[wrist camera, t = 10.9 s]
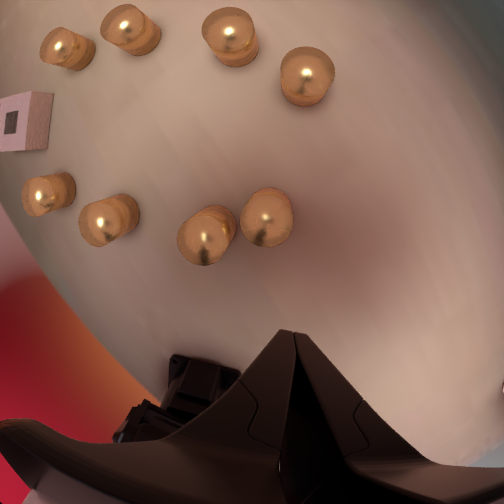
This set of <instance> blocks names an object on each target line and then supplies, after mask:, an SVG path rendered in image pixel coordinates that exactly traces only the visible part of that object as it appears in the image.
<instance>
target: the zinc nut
mask: <svg viewBox="0 0 504 504" xmlns="http://www.w3.org/2000/svg"><path fill="white" fill-rule="evenodd" d="M53 96H54V94H51V93H44V92H37V91H29V92H25V93H20V94H16V95H12V96H9V97H5V98H1V99H0V152H2V151H19V150H33V149H45V148H47V147H48V135H49V125H50V117H51V110H52V103H53Z"/></svg>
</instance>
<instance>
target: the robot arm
mask: <svg viewBox="0 0 504 504" xmlns="http://www.w3.org/2000/svg"><path fill="white" fill-rule="evenodd" d="M174 359H175V360H177V361H175V360H174ZM234 375H237V376H234ZM112 440H113V443H105V444H104V443H103V444H102V443H101V444H99V443H88V442H82V441H78V440H75V439H72V438H69V437H67V436H65V435H62V434H60V433H58V432H57V431H55V430H53V429H52V428H50V427H48V426H46V425H44V424H42V423H41V422H38V421H36V420H33V419H28V418H23V419H16V418H15V419H6V420H2V421H0V452H1V454H2V455H3V456H4V458H5V459H6V460H7V462H8V463H9V464H10V466H11V467H12V468H13V469H14V471H15V472H16V473H17V474H18V475H19V477H20V478H21V479H22V480H23V481H24V482H25V483H26V485H27V486H28V487H29V488H30V489H31V491H30V492H29V494H28V496H27V497H26V499H25V500H24V502H23V504H504V468H485V467H484V468H482V467H463V466H450V465H442V464H438V463H435V462H433V461H431V460H429V459H427V458H426V457H424V456H423V455H422V454H421V453H419V452H418V451H417V450H416V449H415V448H414V447H413V446H411V445H410V444H409V443H408V442H407V441H406V440H405V439H404V438H402V437H401V436H400V435H399V434H398V433H397V432H396V431H395V430H393V429H392V428H391V427H390V426H389V425H388V424H387V423H386V422H385V421H384V420H383V419H382V418H381V417H380V416H379V415H378V414H377V413H376V412H375V411H374V410H373V409H372V408H371V406H370V405H369V404H368V403H367V402H366V401H365V400H363V398H362V396H361V395H360V394H359V393H358V392H357V391H356V390H355V389H354V387H353V386H352V385H351V384H350V383H349V382H348V381H347V380H346V378H345V377H344V376H343V375H342V374H341V373H340V372H339V371H338V369H337V368H336V367H335V366H334V365H333V364H332V363H331V361H330V360H329V359H328V358H327V357H326V356H325V355H324V353H323V352H322V351H321V350H320V349H319V348H318V347H317V345H316V344H315V343H314V342H313V341H312V340H311V339H310V337H309V336H308V335H307V334H303V333H298V332H294V333H293V332H292V331H288V330H283V329H280V330H279V331H278V332H277V333H276V334H275V336H274V337H273V338H272V339H271V341H270V342H269V343H268V344H267V345H266V347H265V348H264V349H263V350H262V352H261V353H260V354H259V355H258V356H257V357H256V359H255V360H254V361H253V362H252V363H251V365H250V366H249V367H248V368H247V369H246V370H245V372H244V373H243V374H242V375H241V373H240V372H239V371H237V370H233V369H229V368H225V367H221V366H216V365H212V364H208V363H204V362H201V361H197V360H193V359H189V358H186V357H182V356H178V355H172V356H171V358H170V362H169V383H168V391H167V393H166V395H165V397H164V399H163V402H162V404H161V406H160V407H158V406H156V405H154V404H152V403H150V401H148V400H146V399H144V400H143V402H142V404H141V405H140V404H138V406H137V407H132V409H131V410H130V412H129V414H128V416H127V418H126V419H125V421H124V422H123V424H121V426H120V427H119V428H118V429H117V431H116V432H115V433H114V435H113V437H112ZM279 463H280V471H279ZM0 504H2V503H1V502H0Z"/></svg>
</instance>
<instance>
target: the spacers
mask: <svg viewBox="0 0 504 504" xmlns="http://www.w3.org/2000/svg"><path fill="white" fill-rule="evenodd" d="M100 33H101V36H102V37H103V38H104V39H105V40H107V41H109V42H111V43H112V44H114V45H116V46H118V47H120V48H122V49H123V50H125V51H127V52H129V53H130V54H132V55H135V56H141V55H145V54H147V53H149V52H151V51H152V50H153V49H154V48H155V47H156V46H157V45H158V43H159V41H160V39H161V30H160V28H159V27H158V26H157V25H156V24H155V23H154V22H153V21H152V20H150V19H149V18H148V17H147V16H146V15H145V14H144V13H143V12H141V11H140V10H139V9H138V8H137V7H136V6H134V5H132V4H124V5H120V6H118V7H116V8H114V9H113V10H111V11H110V12H109V13H108V14H107V15H106V17H105V18H104V20H103V21H102V24H101V28H100ZM202 35H203V38H204V39H205V41H206V42H207V43H208V45H209V46H210V48H211V49H212V50H213V52H214V53H215V55H216V56H217V57H218V59H219V60H220V61H221V62H222V63H224V64H225V65H228V66H232V67H240V66H244V65H246V64H248V63H250V62H251V61H252V60H253V59H254V58H255V57H256V55H257V53H258V49H259V46H258V41H257V37H256V33H255V29H254V25H253V21H252V18H251V17H250V15H249V14H248V13H247V12H245V11H244V10H242V9H239V8H235V7H225V8H221V9H218V10H216V11H214V12H212V13H211V14H210V15H209V16H208V17H207V18H206V19H205V20H204V22H203V25H202ZM94 54H95V44H94V42H93V41H92V40H90V39H88V38H86V37H83V36H81V35H79V34H77V33H75V32H72V31H70V30H68V29H65V28H63V27H58V28H56V29H54V30H52V31H51V32H50V33H49V34H48V35H47V36H46V38H45V39H44V41H43V43H42V45H41V48H40V59H41V60H42V61H43V62H46V63H50V64H53V65H57V66H61V67H64V68H68V69H71V70H75V71H78V70H81V69H83V68H85V67H86V66H87V65H88V64H89V63H90V62H91V60H92V58H93V56H94ZM334 77H335V68H334V65H333V62H332V61H331V59H330V58H329V57H328V56H327V55H326V54H325V53H324V52H322V51H321V50H319V49H316V48H313V47H299V48H295V49H293V50H291V51H290V52H289V53H287V54H286V56H285V57H284V58H283V60H282V63H281V88H282V92H283V94H284V96H285V97H286V98H287V99H288V100H289V101H290V102H292V103H294V104H296V105H299V106H310V105H313V104H315V103H317V102H318V101H320V100H321V98H322V97H323V96H324V94H325V93H326V91H327V90H328V88H329V87H330V86H331V84H332V83H333V80H334ZM75 195H76V186H75V182H74V180H73V178H72V177H71V176H70V175H69V174H67V173H58V174H52V175H46V176H41V177H36V178H31V179H29V180H27V181H26V182H25V184H24V186H23V189H22V203H23V206H24V209H25V210H26V212H27V213H28V214H29V215H30V216H32V217H37V216H40V215H43V214H46V213H49V212H52V211H55V210H58V209H61V208H64V207H67V206H69V205H70V204H71V203H72V202H73V201H74V198H75ZM139 215H140V214H139V208H138V205H137V203H136V202H135V201H134V199H133V198H131V197H130V196H128V195H125V194H120V195H116V196H113V197H110V198H106V199H103V200H100V201H97V202H94V203H91V204H88V205H86V206H85V207H84V208H83V209H82V211H81V213H80V216H79V229H80V232H81V235H82V236H83V238H84V239H85V240H86V242H88V243H89V244H90V245H92V246H95V247H102V246H104V245H106V244H108V243H110V242H111V241H113V240H115V239H117V238H118V237H120V236H122V235H124V234H125V233H127V232H129V231H131V230H132V229H134V228H135V227H136V225H137V224H138V221H139ZM240 226H241V230H242V232H243V234H244V235H245V237H246V238H247V239H248V240H249V241H250V242H252V243H253V244H255V245H257V246H261V247H273V246H276V245H279V244H281V243H282V242H283V241H285V240H286V239H287V237H288V236H289V235H290V233H291V231H292V228H293V215H292V209H291V204H290V201H289V199H288V197H287V196H286V195H285V194H284V193H283V192H282V191H280V190H278V189H275V188H263V189H261V190H259V191H257V192H256V193H254V194H253V196H252V197H251V198H250V199H249V201H248V202H247V203H246V205H245V206H244V208H243V210H242V212H241V215H240ZM235 231H236V222H235V219H234V217H233V215H232V214H231V212H230V211H229V210H227V209H226V208H224V207H222V206H217V205H213V206H208V207H206V208H204V209H202V210H201V211H200V212H198V213H197V214H195V215H194V216H193V217H191V218H190V219H188V220H187V221H186V222H184V223H183V225H182V226H181V227H180V229H179V231H178V235H177V244H178V247H179V250H180V252H181V254H182V255H183V256H184V257H185V258H186V259H187V260H188V261H190V262H191V263H193V264H196V265H202V266H205V265H210V264H213V263H215V262H216V261H218V260H219V259H220V258H221V257H222V255H223V253H224V252H225V250H226V248H227V247H228V245H229V243H230V242H231V240H232V238H233V236H234V234H235Z"/></svg>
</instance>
